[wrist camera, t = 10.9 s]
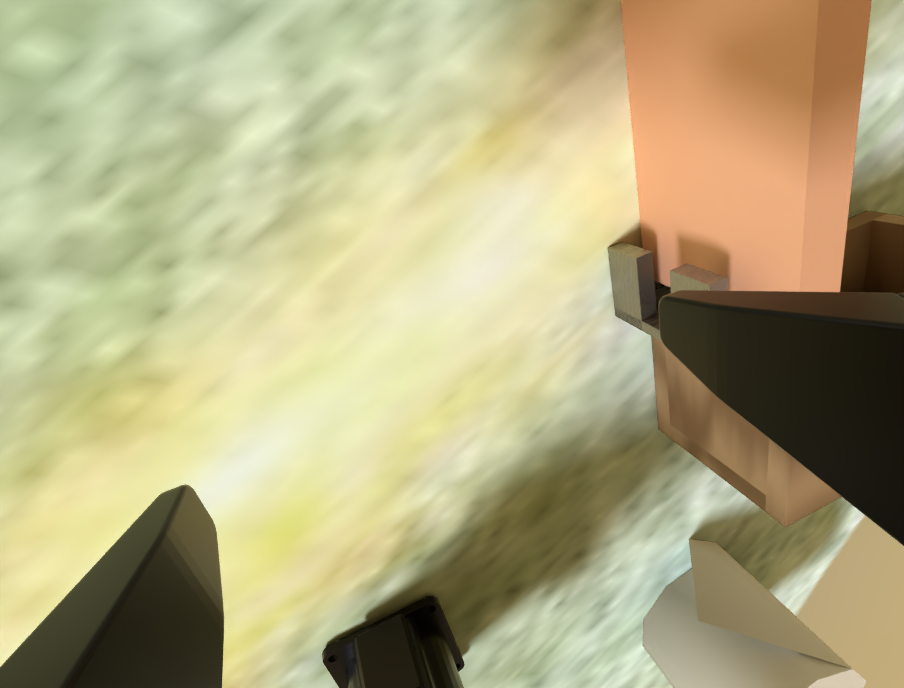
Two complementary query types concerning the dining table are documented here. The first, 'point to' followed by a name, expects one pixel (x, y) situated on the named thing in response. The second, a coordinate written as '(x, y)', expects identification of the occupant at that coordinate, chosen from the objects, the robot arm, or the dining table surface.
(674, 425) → the cabinet
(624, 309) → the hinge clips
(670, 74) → the cabinet door
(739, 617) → the toilet tissue
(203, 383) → the dining table surface
